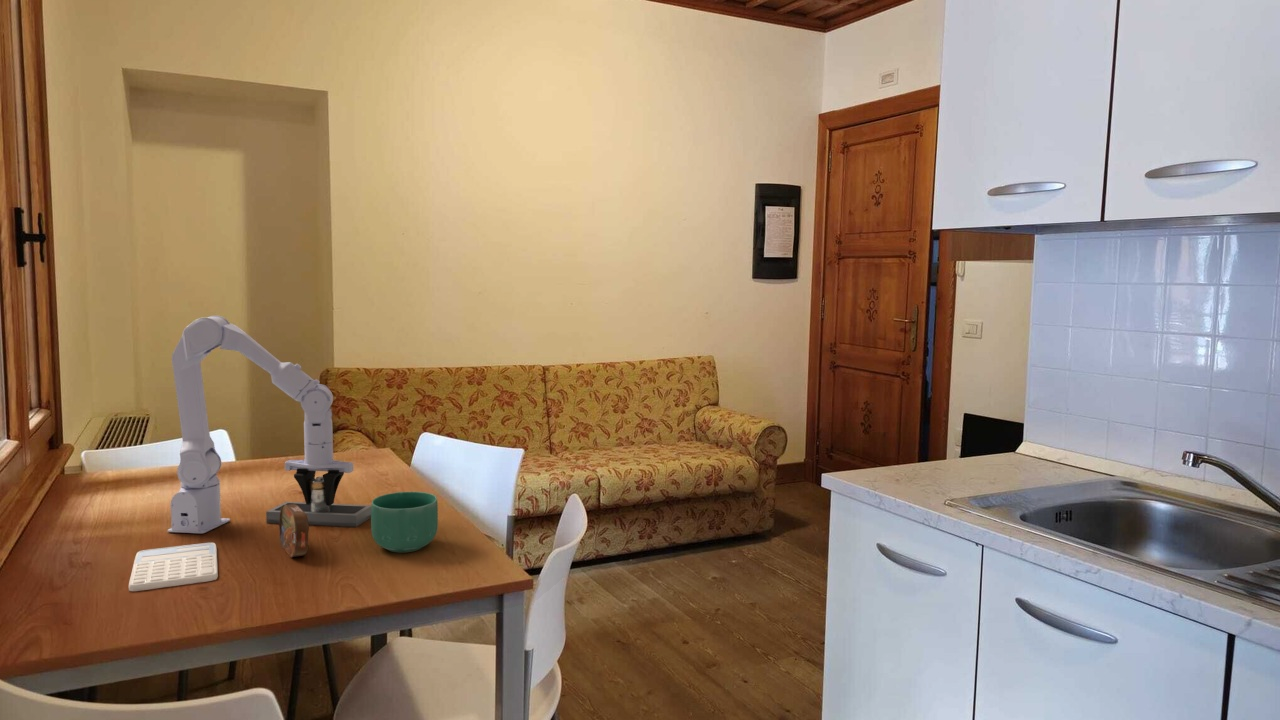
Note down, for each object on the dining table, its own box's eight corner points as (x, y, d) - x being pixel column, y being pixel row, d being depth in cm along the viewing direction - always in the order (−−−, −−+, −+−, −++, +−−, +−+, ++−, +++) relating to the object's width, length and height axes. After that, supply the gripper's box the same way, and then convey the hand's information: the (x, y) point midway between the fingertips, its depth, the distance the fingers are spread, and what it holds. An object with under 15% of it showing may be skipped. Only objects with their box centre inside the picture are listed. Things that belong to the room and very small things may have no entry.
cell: (325, 514, 178) (325, 479, 177) (307, 513, 178) (306, 479, 177) (333, 509, 182) (333, 475, 181) (315, 508, 182) (314, 474, 182)
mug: (443, 553, 160) (442, 504, 159) (374, 560, 155) (374, 511, 154) (429, 529, 175) (429, 484, 174) (366, 535, 170) (366, 489, 169)
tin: (278, 541, 165) (277, 500, 164) (295, 539, 167) (294, 498, 166) (293, 563, 153) (292, 518, 152) (312, 560, 154) (310, 516, 154)
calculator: (127, 595, 138) (127, 584, 137) (136, 558, 155) (136, 548, 155) (218, 583, 144) (217, 572, 144) (216, 549, 161) (216, 539, 161)
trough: (356, 527, 175) (356, 515, 175) (266, 522, 177) (266, 511, 177) (372, 516, 183) (372, 505, 183) (286, 512, 185) (286, 501, 185)
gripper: (359, 439, 182) (360, 500, 183) (296, 437, 183) (297, 497, 184) (344, 445, 175) (345, 509, 176) (278, 443, 176) (280, 506, 177)
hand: (319, 503), depth 180 cm, fingers closed on cell, 4 cm apart
